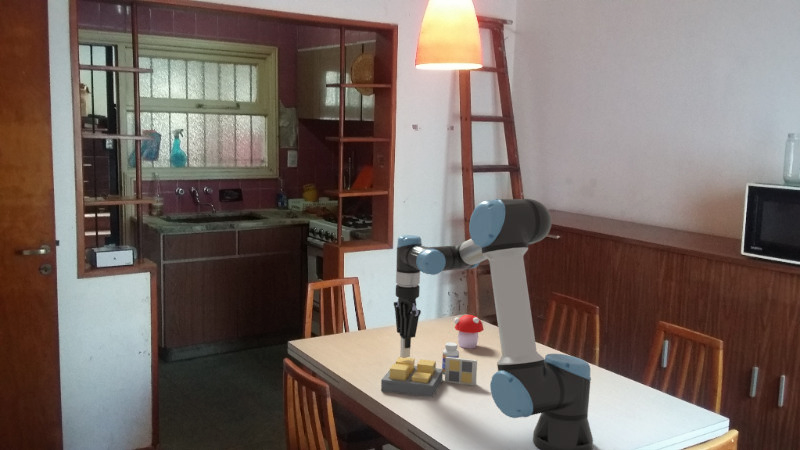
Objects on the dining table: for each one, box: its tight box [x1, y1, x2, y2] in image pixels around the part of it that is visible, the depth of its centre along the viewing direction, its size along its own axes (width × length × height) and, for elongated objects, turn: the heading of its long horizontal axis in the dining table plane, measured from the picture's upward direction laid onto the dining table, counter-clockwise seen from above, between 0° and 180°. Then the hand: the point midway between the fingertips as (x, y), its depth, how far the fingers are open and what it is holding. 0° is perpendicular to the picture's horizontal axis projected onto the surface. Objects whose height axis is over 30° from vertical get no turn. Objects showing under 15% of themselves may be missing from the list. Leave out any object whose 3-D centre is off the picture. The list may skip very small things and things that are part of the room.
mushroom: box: [453, 314, 485, 349], centre depth 269 cm, size 11×11×12 cm
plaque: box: [444, 357, 478, 386], centre depth 229 cm, size 1×10×8 cm, turn 76°
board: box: [380, 365, 444, 398], centre depth 226 cm, size 16×16×4 cm
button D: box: [395, 356, 416, 373], centre depth 230 cm, size 5×5×4 cm
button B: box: [389, 363, 409, 381], centre depth 223 cm, size 5×5×4 cm
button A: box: [412, 372, 431, 383], centre depth 221 cm, size 5×5×4 cm
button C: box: [416, 358, 437, 376], centre depth 228 cm, size 5×5×4 cm
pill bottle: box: [441, 342, 460, 375], centre depth 239 cm, size 5×5×10 cm
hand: (405, 356), depth 229 cm, fingers closed
